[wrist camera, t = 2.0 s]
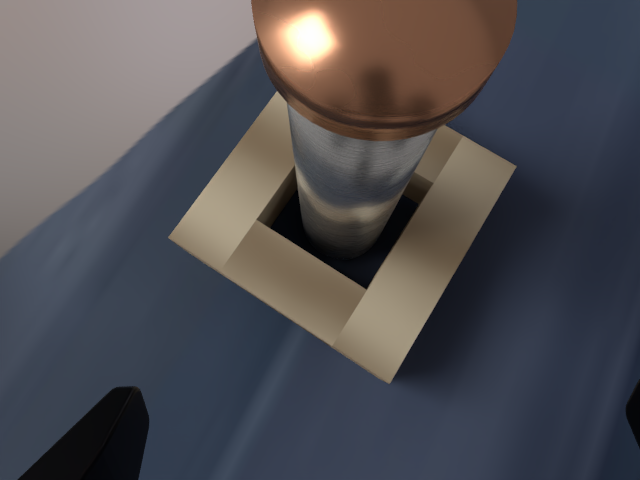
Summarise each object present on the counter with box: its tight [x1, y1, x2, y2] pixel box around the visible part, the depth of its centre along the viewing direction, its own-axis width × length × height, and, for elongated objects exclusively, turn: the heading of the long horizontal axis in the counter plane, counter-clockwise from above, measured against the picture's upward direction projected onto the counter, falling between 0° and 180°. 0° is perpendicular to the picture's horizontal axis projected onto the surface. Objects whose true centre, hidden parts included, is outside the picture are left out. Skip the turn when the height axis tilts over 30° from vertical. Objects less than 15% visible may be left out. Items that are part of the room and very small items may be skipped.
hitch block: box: [168, 91, 517, 384], centre depth 21 cm, size 11×11×3 cm
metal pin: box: [251, 0, 517, 259], centre depth 16 cm, size 5×5×15 cm
